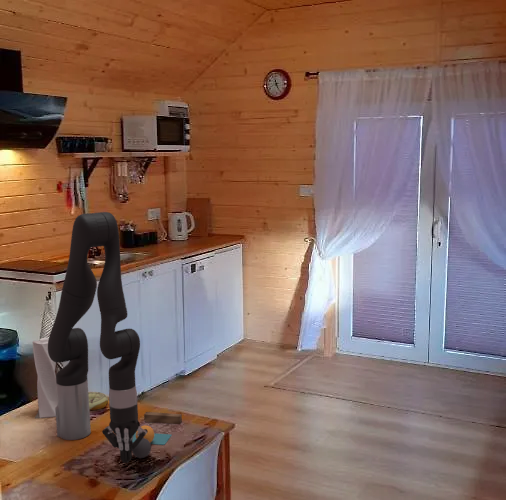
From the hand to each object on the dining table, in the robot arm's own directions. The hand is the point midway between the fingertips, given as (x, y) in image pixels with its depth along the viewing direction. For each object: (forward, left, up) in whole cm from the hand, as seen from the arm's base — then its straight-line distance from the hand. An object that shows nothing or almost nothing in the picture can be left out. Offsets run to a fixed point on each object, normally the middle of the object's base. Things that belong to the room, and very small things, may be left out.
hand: (126, 461), depth 176 cm
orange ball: (0, +14, +1) cm, 14 cm away
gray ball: (+2, +6, +1) cm, 6 cm away
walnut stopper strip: (0, +30, -2) cm, 30 cm away
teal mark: (0, +17, -2) cm, 18 cm away
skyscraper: (-40, +30, -2) cm, 50 cm away
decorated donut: (-29, +39, -2) cm, 49 cm away
